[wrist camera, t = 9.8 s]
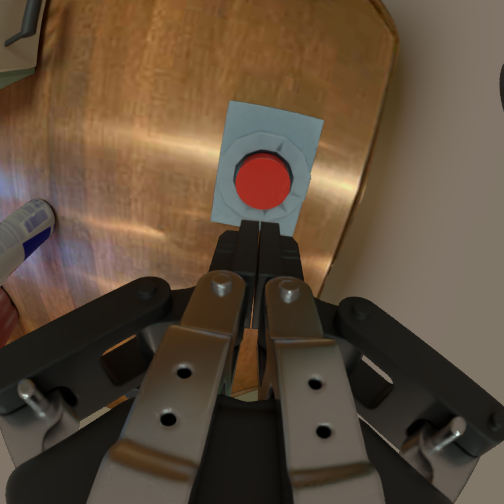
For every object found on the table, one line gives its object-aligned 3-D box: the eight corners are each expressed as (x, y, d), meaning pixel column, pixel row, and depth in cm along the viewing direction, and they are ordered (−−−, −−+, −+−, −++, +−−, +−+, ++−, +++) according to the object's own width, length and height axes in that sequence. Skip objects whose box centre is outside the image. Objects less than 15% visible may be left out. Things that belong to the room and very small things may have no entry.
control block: (232, 100, 19) (225, 100, 16) (319, 118, 20) (329, 122, 16) (214, 210, 25) (205, 231, 21) (290, 225, 25) (294, 248, 22)
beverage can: (27, 215, 26) (-50, 286, 13) (37, 187, 24) (-54, 257, 11) (51, 241, 28) (-21, 321, 15) (63, 215, 26) (-23, 298, 13)
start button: (242, 148, 18) (240, 153, 17) (293, 158, 18) (296, 164, 17) (234, 195, 20) (231, 204, 19) (282, 204, 20) (283, 214, 19)
